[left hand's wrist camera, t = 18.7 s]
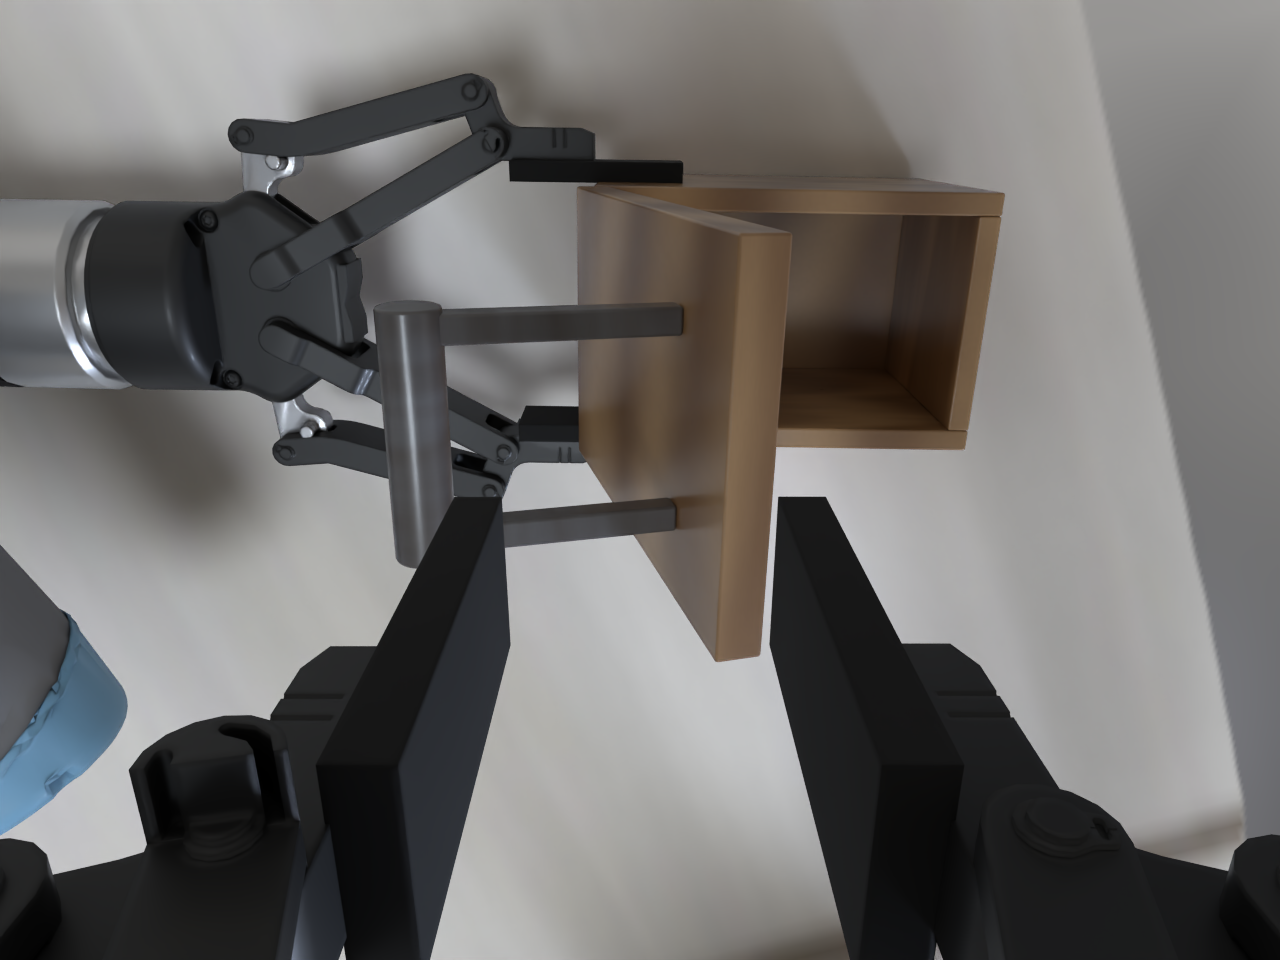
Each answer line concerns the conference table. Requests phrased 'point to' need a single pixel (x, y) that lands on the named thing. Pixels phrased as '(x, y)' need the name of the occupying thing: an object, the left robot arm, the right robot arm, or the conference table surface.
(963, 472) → the conference table surface
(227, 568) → the conference table surface
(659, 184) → the chest
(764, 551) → the lid
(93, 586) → the conference table surface
